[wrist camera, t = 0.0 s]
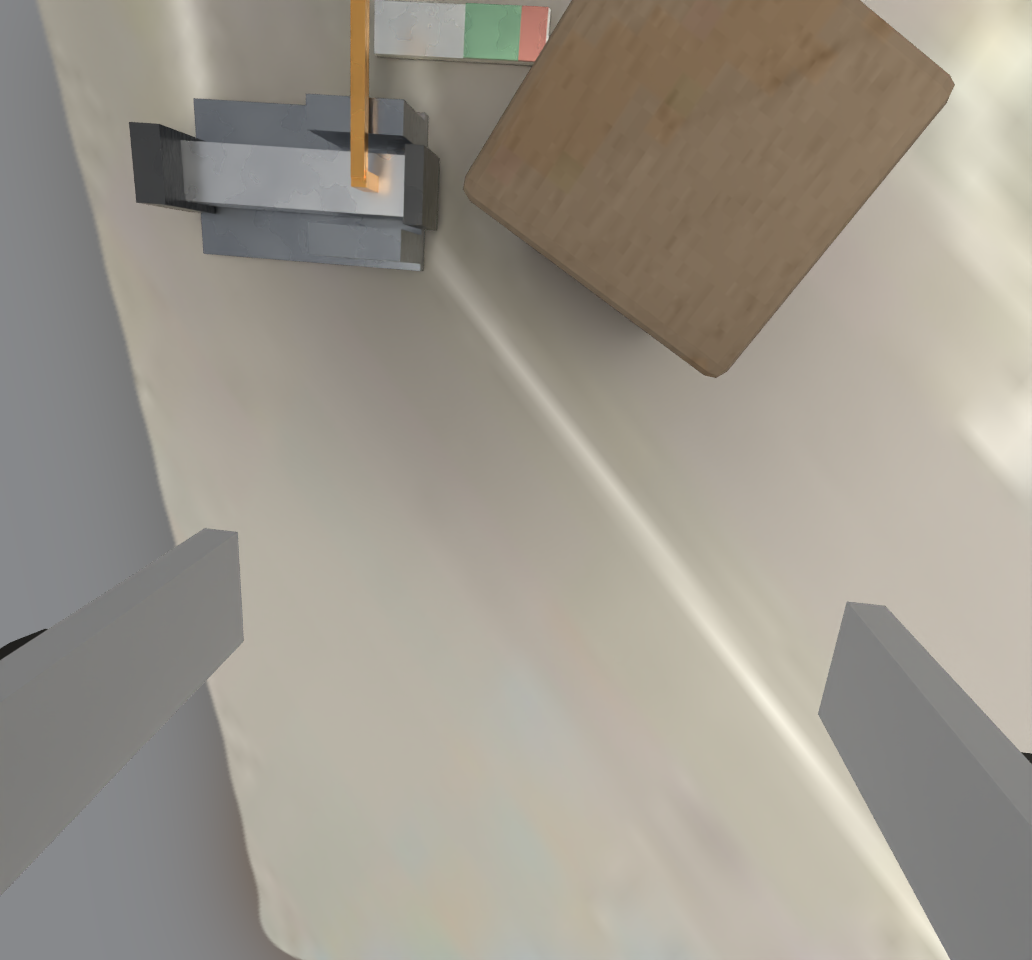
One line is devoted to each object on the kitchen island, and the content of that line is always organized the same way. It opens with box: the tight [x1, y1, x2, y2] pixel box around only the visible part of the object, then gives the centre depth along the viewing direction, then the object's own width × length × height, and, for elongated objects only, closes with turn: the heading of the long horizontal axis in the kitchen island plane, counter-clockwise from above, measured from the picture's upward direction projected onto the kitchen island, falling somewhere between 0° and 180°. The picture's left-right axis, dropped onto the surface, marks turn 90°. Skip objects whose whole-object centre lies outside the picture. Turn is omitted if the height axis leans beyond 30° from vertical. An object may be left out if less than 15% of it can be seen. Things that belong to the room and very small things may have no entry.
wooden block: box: [463, 0, 955, 378], centre depth 28 cm, size 10×10×20 cm
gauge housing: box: [194, 0, 551, 271], centre depth 35 cm, size 14×20×5 cm
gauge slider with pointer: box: [129, 0, 440, 230], centre depth 34 cm, size 11×15×5 cm
